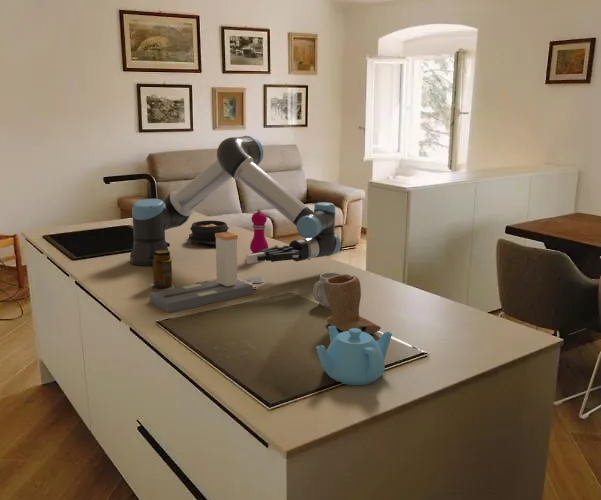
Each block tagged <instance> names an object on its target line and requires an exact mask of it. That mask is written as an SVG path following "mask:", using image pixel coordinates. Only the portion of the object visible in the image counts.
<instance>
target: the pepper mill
mask: <svg viewBox="0 0 601 500" xmlns="http://www.w3.org/2000/svg"><path fill="white" fill-rule="evenodd" d="M267 221H268V217H267V215H266V214H265V213H264V212H262V209H261V208H257V209H256V212H254V213H253V214H252V215H251V222H252V229H253V238H252V239H251V242H250V246H249V250H250V251H251V252H252V253H251V254H255V253H260V250H263V249H267V248H269V243H268V241H267V239H266V235H265V229H266V223H267Z"/></svg>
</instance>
